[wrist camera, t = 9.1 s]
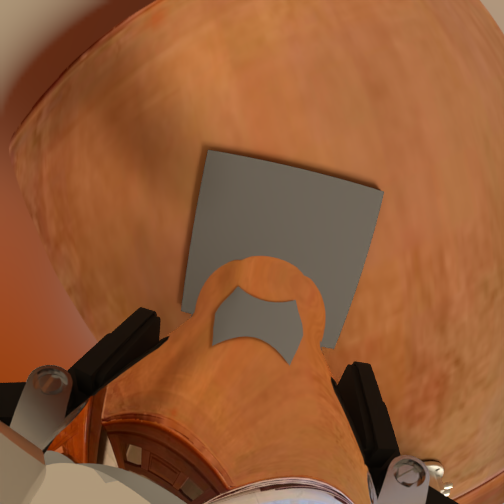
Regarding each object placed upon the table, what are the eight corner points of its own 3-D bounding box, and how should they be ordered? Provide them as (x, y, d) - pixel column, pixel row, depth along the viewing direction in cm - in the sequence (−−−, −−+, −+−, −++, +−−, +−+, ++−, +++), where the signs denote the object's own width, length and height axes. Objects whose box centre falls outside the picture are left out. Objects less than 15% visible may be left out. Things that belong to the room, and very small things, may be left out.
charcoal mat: (381, 191, 23) (384, 191, 22) (333, 344, 27) (333, 348, 26) (210, 150, 24) (207, 149, 24) (183, 307, 28) (180, 310, 28)
